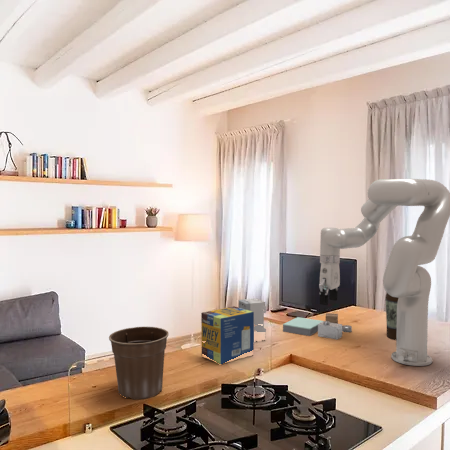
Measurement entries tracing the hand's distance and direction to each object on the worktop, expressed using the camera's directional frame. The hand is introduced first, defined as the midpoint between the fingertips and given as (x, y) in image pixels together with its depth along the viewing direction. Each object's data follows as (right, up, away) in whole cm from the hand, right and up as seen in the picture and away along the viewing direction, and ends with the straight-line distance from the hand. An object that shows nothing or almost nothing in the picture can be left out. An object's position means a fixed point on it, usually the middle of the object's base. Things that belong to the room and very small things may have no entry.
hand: (328, 302), depth 180 cm
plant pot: (-65, -16, -52) cm, 85 cm away
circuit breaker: (-33, -14, -5) cm, 36 cm away
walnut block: (+5, -13, +15) cm, 21 cm away
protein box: (-40, -15, -23) cm, 48 cm away
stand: (-8, -13, +10) cm, 18 cm away
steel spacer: (+9, -13, +7) cm, 18 cm away
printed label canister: (+27, -14, -1) cm, 31 cm away
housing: (+1, -14, 0) cm, 14 cm away
